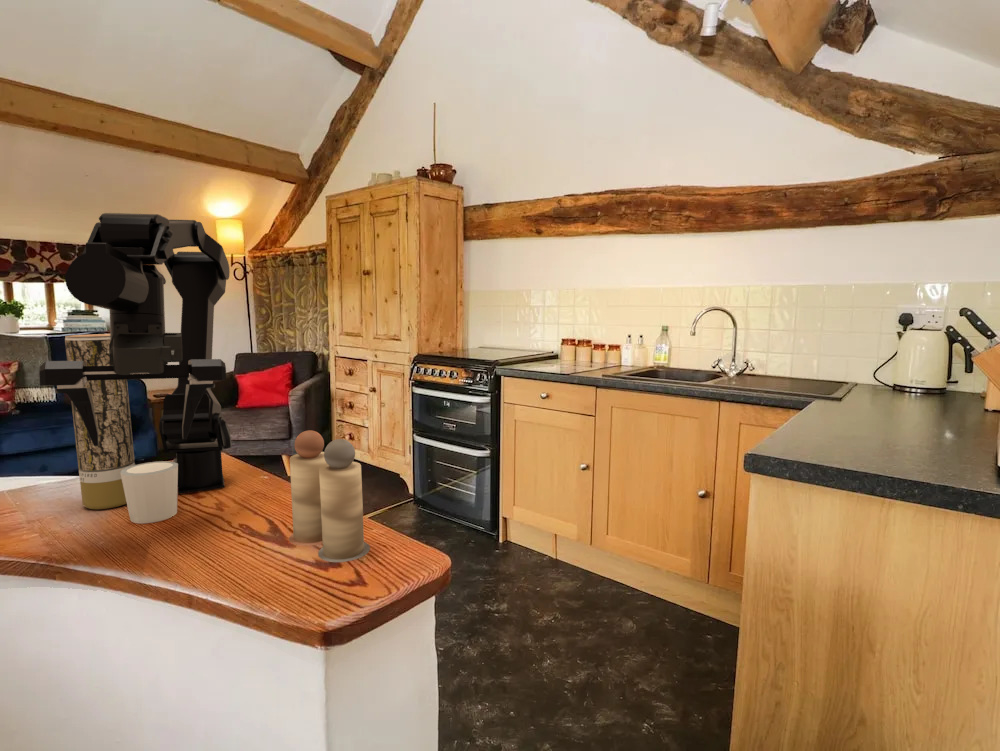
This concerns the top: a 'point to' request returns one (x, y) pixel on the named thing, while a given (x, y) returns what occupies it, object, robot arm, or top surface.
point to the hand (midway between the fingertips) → (142, 442)
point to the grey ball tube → (341, 502)
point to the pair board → (320, 553)
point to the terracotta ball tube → (307, 487)
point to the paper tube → (102, 428)
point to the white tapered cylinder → (151, 491)
